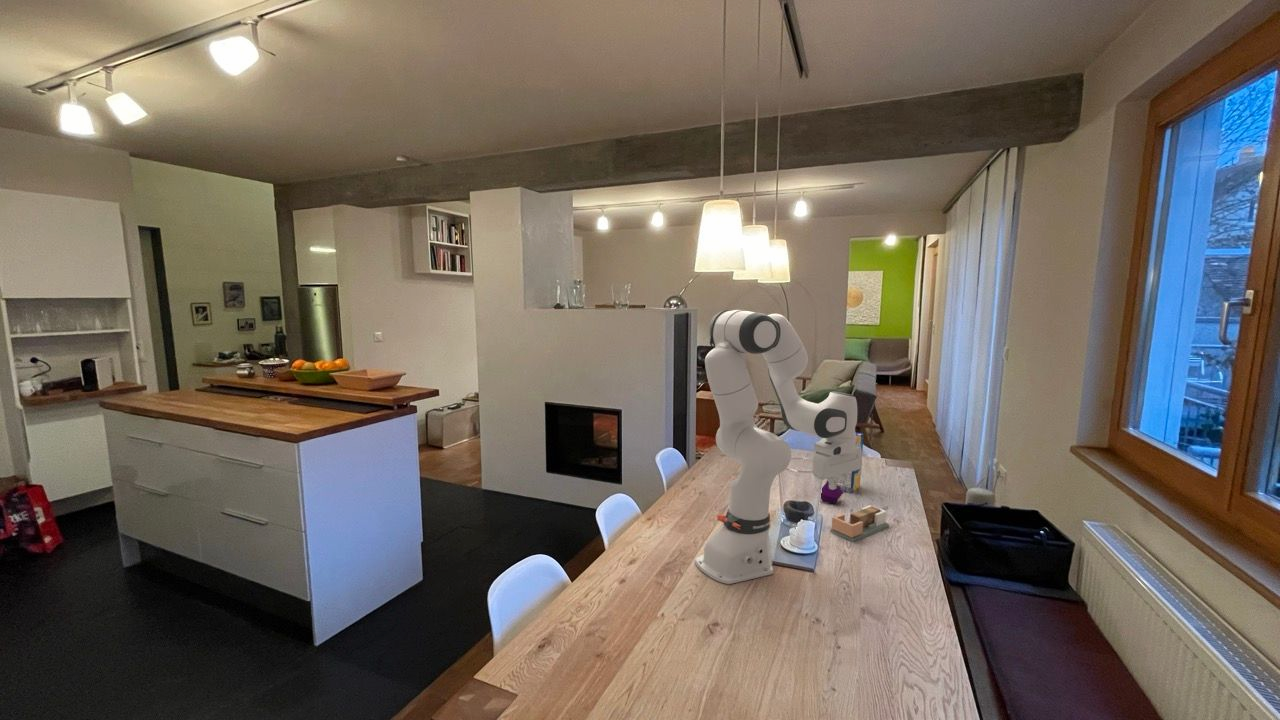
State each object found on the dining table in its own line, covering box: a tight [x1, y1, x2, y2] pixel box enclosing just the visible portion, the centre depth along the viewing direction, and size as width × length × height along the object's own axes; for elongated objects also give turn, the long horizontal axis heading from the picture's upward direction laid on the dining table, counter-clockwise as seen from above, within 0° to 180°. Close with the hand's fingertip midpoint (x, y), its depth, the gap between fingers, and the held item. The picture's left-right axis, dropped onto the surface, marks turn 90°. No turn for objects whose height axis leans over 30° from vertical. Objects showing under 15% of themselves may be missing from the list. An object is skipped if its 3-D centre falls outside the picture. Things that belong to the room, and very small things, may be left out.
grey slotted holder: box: [830, 504, 890, 543], centre depth 160 cm, size 20×8×5 cm, turn 123°
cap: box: [831, 513, 863, 537], centre depth 156 cm, size 6×7×4 cm
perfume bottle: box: [820, 479, 844, 505], centre depth 183 cm, size 8×8×18 cm
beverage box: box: [834, 431, 865, 494], centre depth 197 cm, size 7×11×22 cm, turn 138°
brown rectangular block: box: [849, 505, 881, 529], centre depth 162 cm, size 12×3×4 cm, turn 123°
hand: (836, 487), depth 151 cm, fingers open, 3 cm apart
